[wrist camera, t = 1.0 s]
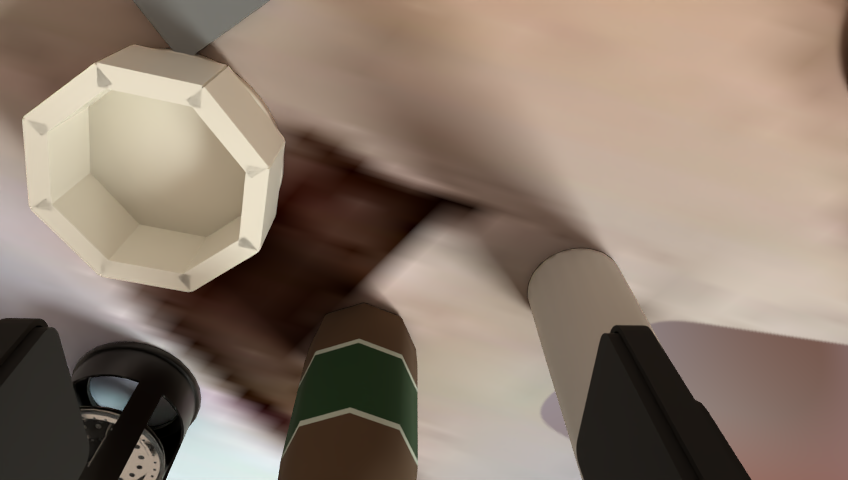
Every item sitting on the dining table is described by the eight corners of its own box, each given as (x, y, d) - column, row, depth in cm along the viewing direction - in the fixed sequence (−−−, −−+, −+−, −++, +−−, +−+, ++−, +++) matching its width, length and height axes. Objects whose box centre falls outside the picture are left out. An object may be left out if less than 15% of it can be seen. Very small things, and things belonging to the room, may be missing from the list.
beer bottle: (362, 401, 48) (320, 796, 26) (287, 340, 45) (172, 729, 24) (439, 346, 45) (459, 733, 24) (364, 279, 42) (313, 650, 21)
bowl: (189, 3, 34) (150, 20, 29) (324, 181, 39) (311, 220, 34) (31, 121, 37) (-27, 154, 32) (176, 272, 42) (145, 319, 37)
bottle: (605, 232, 41) (892, 729, 16) (635, 306, 44) (918, 825, 19) (512, 271, 42) (647, 784, 18) (547, 340, 45) (706, 866, 20)
